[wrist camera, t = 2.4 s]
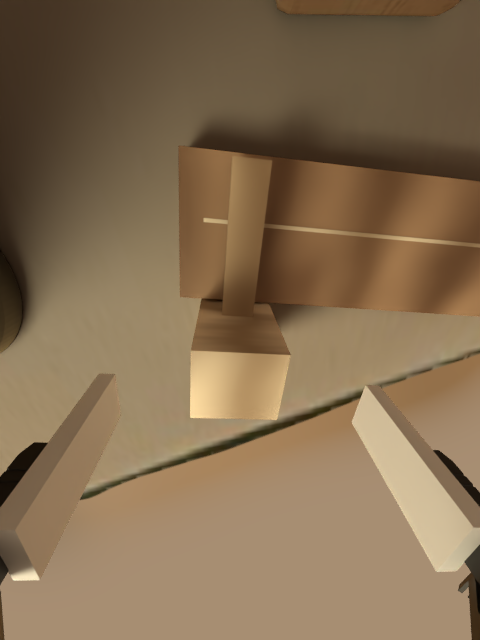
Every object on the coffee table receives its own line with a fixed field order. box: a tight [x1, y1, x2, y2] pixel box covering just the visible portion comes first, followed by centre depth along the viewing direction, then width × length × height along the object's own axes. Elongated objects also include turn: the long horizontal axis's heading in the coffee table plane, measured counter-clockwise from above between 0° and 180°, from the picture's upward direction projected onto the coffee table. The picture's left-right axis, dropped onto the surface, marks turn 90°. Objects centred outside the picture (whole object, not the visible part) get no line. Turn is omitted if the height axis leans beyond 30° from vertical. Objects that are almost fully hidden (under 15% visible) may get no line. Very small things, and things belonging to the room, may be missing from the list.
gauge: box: [190, 156, 291, 420], centre depth 16 cm, size 5×14×9 cm, turn 175°
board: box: [179, 146, 480, 316], centre depth 18 cm, size 24×9×2 cm, turn 85°
